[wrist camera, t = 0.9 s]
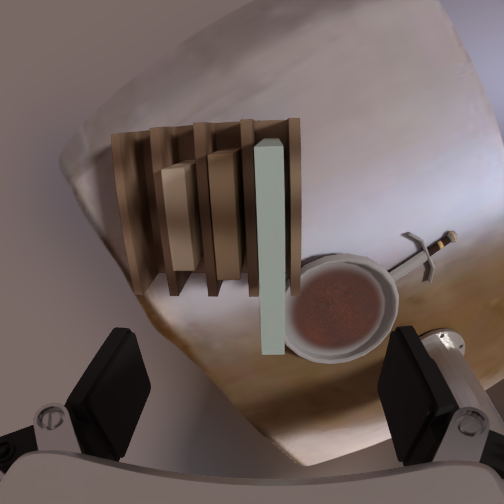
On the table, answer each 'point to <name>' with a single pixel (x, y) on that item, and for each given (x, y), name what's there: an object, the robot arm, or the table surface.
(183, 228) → the offcut light
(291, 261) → the rack
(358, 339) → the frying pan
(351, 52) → the table surface
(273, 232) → the tall sheet
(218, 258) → the offcut dark
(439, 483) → the robot arm
